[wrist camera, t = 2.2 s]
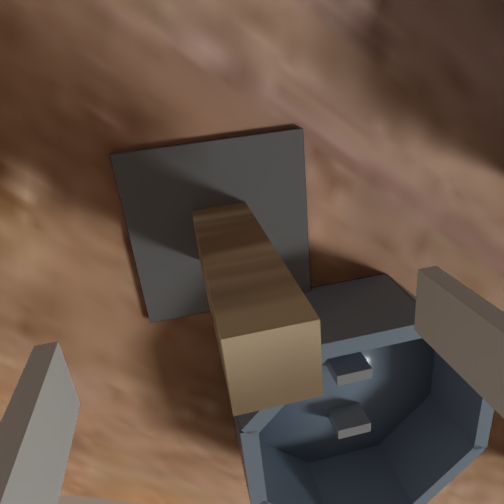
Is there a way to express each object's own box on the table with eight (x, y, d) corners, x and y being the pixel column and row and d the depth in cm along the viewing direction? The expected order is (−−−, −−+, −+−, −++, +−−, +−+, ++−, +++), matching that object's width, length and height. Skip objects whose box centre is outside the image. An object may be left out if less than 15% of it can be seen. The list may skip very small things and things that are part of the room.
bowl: (215, 306, 26) (229, 364, 21) (451, 260, 28) (514, 303, 23) (243, 481, 33) (258, 556, 28) (432, 433, 35) (477, 494, 30)
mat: (110, 153, 21) (109, 155, 21) (300, 127, 23) (303, 128, 22) (150, 319, 26) (150, 322, 25) (308, 288, 27) (310, 291, 27)
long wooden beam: (191, 210, 23) (221, 339, 12) (245, 201, 23) (320, 319, 13) (199, 260, 24) (233, 416, 13) (250, 250, 25) (323, 395, 14)
